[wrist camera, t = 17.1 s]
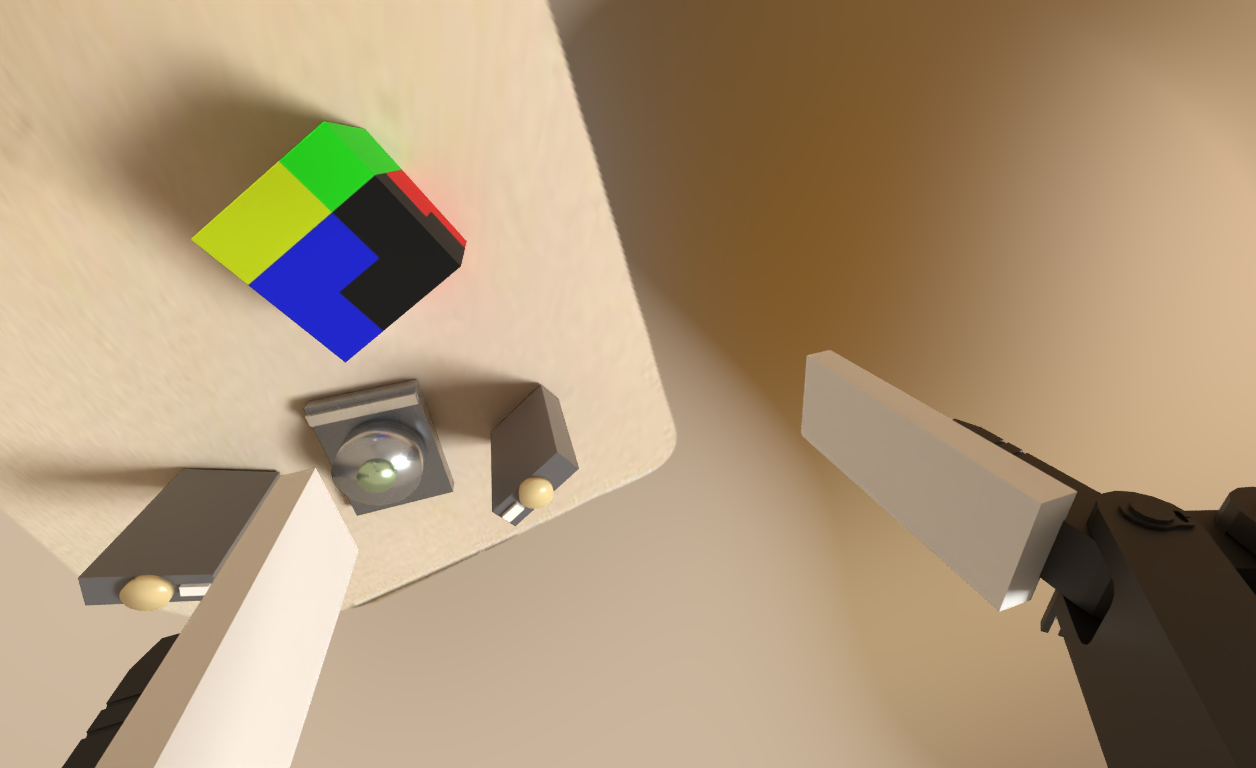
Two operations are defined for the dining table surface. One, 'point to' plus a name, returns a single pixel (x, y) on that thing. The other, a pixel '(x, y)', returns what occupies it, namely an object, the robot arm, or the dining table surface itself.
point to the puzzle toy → (336, 238)
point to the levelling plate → (405, 415)
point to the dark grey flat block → (177, 540)
